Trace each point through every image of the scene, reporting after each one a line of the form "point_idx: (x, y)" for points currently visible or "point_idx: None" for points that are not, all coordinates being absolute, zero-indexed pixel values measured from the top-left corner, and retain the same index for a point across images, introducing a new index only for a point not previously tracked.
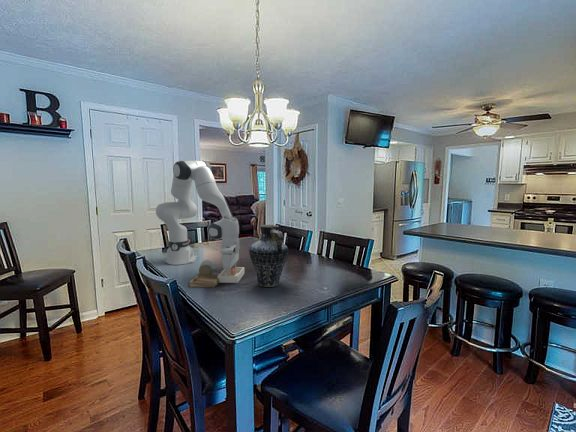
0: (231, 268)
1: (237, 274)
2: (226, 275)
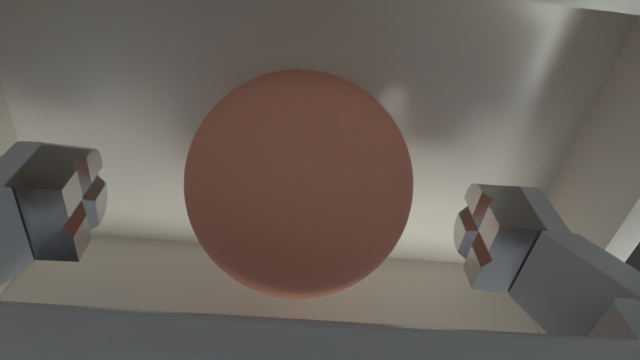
0: (247, 263)
1: (426, 204)
2: (395, 8)
